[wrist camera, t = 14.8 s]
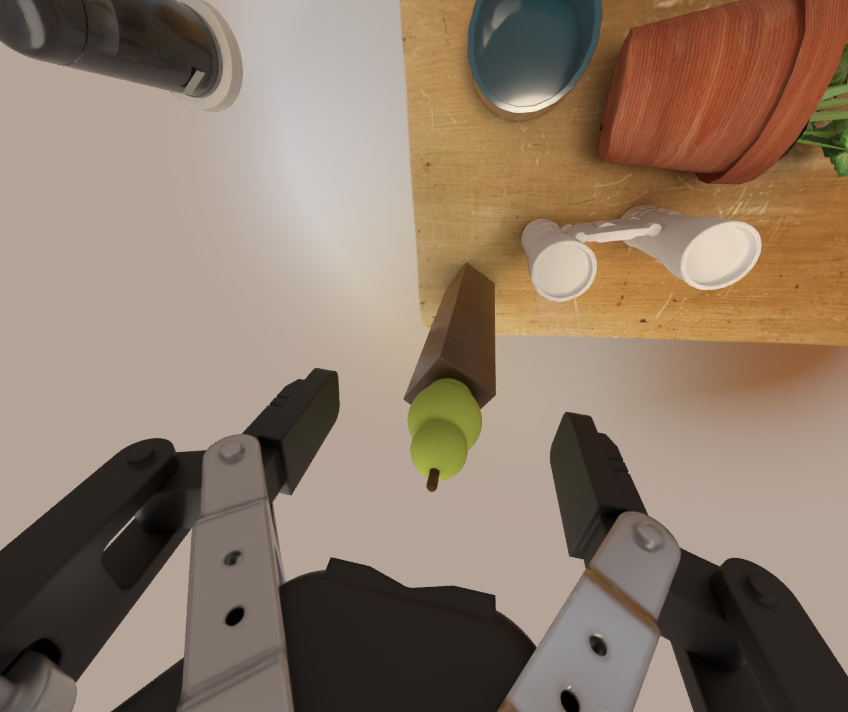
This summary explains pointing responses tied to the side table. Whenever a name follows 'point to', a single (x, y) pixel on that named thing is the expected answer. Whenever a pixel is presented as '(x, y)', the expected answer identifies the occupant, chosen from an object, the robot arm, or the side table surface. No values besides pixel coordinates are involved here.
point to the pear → (443, 429)
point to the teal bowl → (530, 52)
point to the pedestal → (461, 339)
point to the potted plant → (730, 89)
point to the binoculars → (649, 232)
